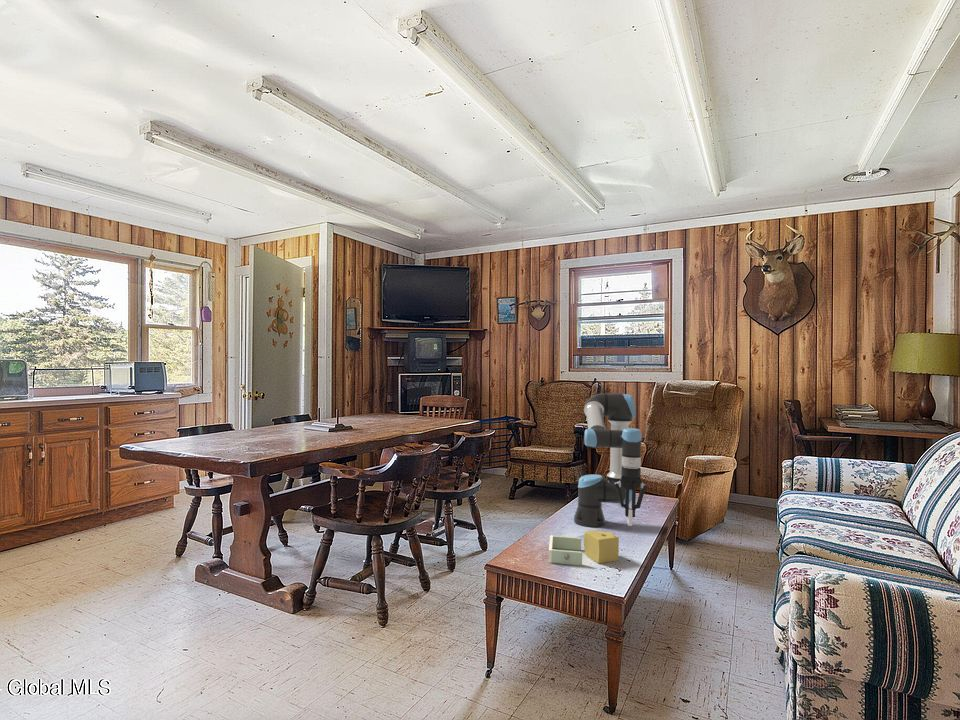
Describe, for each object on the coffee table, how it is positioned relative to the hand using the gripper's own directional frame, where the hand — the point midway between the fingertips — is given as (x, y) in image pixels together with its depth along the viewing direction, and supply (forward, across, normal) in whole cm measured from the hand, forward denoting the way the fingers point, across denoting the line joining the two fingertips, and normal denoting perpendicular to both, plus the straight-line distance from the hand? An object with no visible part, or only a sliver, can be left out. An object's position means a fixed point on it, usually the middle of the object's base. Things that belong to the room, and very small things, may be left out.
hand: (629, 524), depth 208 cm
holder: (+15, -25, 0) cm, 29 cm away
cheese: (+15, -11, 0) cm, 19 cm away
